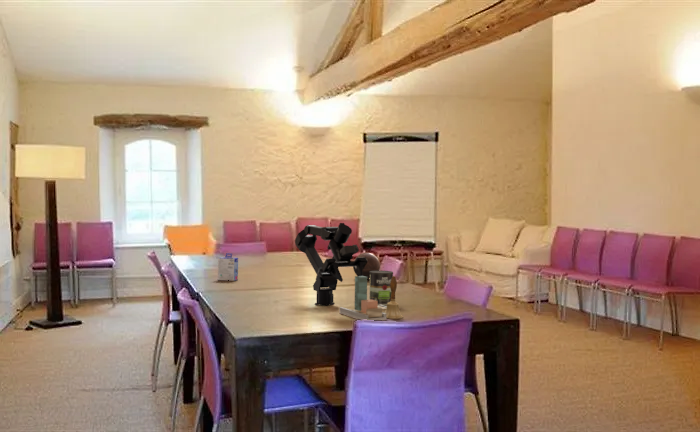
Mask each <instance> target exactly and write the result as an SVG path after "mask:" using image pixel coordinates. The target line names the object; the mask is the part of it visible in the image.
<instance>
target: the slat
mask: <svg viewBox="0 0 700 432" xmlns="http://www.w3.org/2000/svg"><path fill="white" fill-rule="evenodd" d="M361 300H368V280H367V277H365V276H357V275H355V276H354V308H353V309H352V310H353V311H356V312H359V313H362V314H366V315H369V316H368V318H371V317H382V308H372V309H366V313H363V312H361Z"/></svg>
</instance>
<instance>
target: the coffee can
mask: <svg viewBox="0 0 700 432" xmlns="http://www.w3.org/2000/svg"><path fill="white" fill-rule="evenodd" d="M392 276H394V272H393V271H391V270H379V271H370V279H369V297H368V300H370V299H372V300H375V301H378V306H379V305H384V306H387V303H389V302H390V301H391V288H390V282H391V279H392Z"/></svg>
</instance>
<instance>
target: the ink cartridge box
mask: <svg viewBox="0 0 700 432" xmlns="http://www.w3.org/2000/svg"><path fill="white" fill-rule="evenodd" d="M224 256H225V257H218V258H217V281H228V280H229V282H231V281H233V282H234V281H238V280H239V258H238V257H233V253H230V252H227V253H226V254H225V255H224Z"/></svg>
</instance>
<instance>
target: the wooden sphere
mask: <svg viewBox="0 0 700 432" xmlns="http://www.w3.org/2000/svg"><path fill="white" fill-rule="evenodd" d="M357 257H366V259H367V261H368V262H367V264H366V265H365V267H364V269H363V270H362V272H363V276H365V277H367V279H368V280H370V279H369V278H370V271H381V263H380V259H379V258H378V257H377V256H376V255H375V254H373V253H370V252H363V253H360V254H358V255H357V256H356V257H355V259H354V260H353V261H355V260H356V258H357ZM353 272H354V273H355V270H354V268H353ZM355 276H357V274H356V273H355Z"/></svg>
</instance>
